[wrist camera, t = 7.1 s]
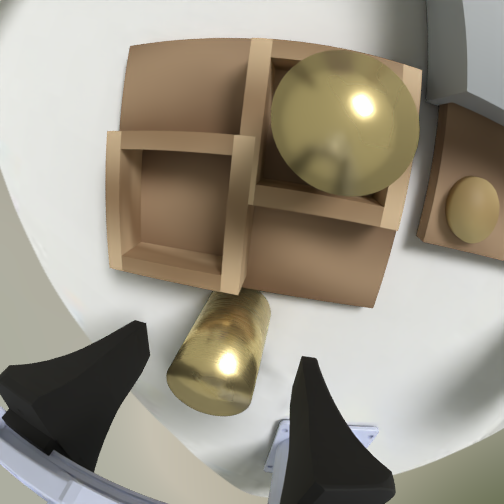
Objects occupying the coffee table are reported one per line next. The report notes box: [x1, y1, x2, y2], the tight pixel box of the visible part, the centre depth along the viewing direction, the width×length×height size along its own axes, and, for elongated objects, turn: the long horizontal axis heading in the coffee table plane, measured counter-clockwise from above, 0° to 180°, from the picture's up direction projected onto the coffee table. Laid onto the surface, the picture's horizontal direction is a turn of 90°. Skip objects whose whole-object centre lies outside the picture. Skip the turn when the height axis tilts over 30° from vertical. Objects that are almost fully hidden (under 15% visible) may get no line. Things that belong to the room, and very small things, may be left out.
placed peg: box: [271, 50, 420, 196], centre depth 9 cm, size 4×4×6 cm
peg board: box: [106, 38, 422, 308], centre depth 12 cm, size 12×14×3 cm
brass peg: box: [167, 287, 271, 416], centre depth 14 cm, size 4×4×6 cm
